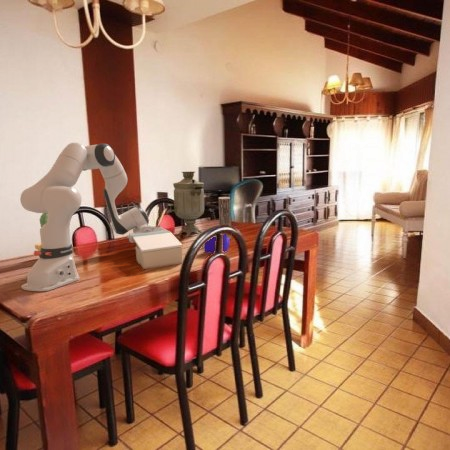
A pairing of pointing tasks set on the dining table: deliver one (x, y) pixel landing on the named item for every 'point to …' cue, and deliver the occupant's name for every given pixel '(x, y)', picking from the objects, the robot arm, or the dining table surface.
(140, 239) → the lid
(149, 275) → the dining table surface
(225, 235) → the bracket
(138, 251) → the box
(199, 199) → the samovar
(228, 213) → the paper tube
